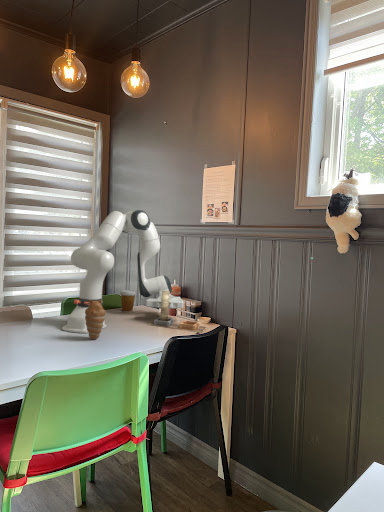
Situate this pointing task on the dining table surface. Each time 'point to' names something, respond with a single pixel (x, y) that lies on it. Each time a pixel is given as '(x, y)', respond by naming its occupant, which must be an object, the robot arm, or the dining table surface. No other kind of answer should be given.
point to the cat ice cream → (94, 318)
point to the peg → (164, 306)
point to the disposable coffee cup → (127, 300)
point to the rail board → (179, 325)
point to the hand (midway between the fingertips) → (164, 306)
